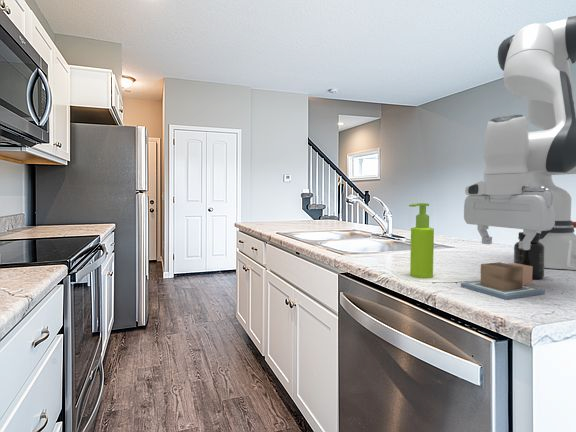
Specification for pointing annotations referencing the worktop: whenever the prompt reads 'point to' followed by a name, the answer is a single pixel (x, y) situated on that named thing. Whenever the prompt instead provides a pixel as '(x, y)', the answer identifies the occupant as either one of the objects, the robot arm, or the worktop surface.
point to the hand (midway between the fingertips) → (504, 246)
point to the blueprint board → (506, 295)
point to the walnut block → (501, 276)
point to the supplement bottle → (531, 255)
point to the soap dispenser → (422, 245)
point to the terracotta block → (525, 273)
